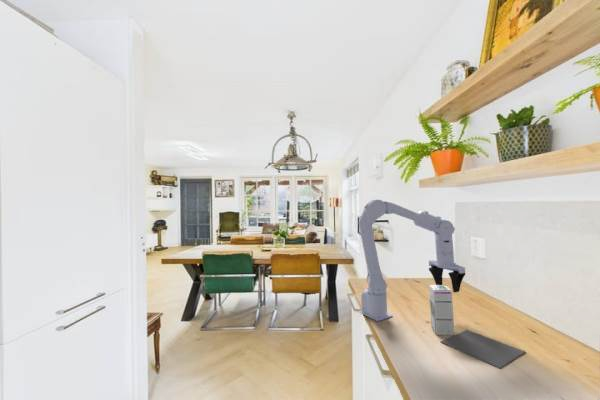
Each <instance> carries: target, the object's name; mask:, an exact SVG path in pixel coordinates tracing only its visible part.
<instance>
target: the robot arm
mask: <svg viewBox="0 0 600 400" xmlns="http://www.w3.org/2000/svg"><path fill="white" fill-rule="evenodd" d="M390 214H394V215H395V216H396V215H397V216H399V217H403V218H405V219H408V220H410V221H413V224H414V225H415V226H416V227H419V228H421V229H425V230H426V231H429V232H433V233H434V237H435V239H434V240H435V253H436V256H435V257H436V260H434V259H433V260H429V261H428V266H429V268H428V271H429V273H430V274H431V275H432V278H433V279H434V283H435V285H443V274H444V270H447V271H451V272H448V276H449V278H450V281H451V286H452V287H451V289H452V293H459V292H460V289H461V285H462V281H463V279H464V278H465V276H466V267H465V266H462V265H459V264H456V263H457V262H455V254H454V243H453V234H454V233H455V230H456V229H455V227H454V225H453V223H452V222H451V221H449V220H446V219H443V218H442V217H441V216H439V215H437V216H436V215H433V214H430V213H429V211H427V210H424V211H422V210H420V211H418V212H415V211H413V210H411V209H408V208H405V207H403V206H401V205H398V204H396V203H393V202H388V201H386V200H385V201H383V200H382V199H372V200H370V201H369V202H368V203H367V204H366V205H365V206H364V208H363V210H362V213H361V215H360V218H359V220H358V226H359V227H358V228H359V231H360V238H361V242H362V248H363V251H364V259H365V263H366V264H365V265H366V269H367V276H366V282H367V285H368V288H366V289H364V290H363V291H362V293H361V297H360V300H361V311H360V312H359V313H360V314H362V315H364V316H366V317H368V318H370V319H372V320H374V321H377V322H379V321H382V320H385V319H388V318H389V319H390V318H391V317H393V314H391V313H389V312H388V298H387V297H388V296H387V293H388V292H387V288H388V284H387V282H386V280H385V279H384V278H383V274H382V270H381V266H380V262H379V257H378V251H377V246H376V241H375V236H374V232H373V225H374V224H375V222H376V221H377V220H378V219H380V218H381V217H382V216H384V215H390Z"/></svg>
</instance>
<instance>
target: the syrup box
mask: <svg viewBox="0 0 600 400" xmlns="http://www.w3.org/2000/svg"><path fill="white" fill-rule="evenodd" d="M453 304H454V302H453V289H452V288H449V286H447V285H443V284H442V285H436V284H430V285H429V305H430V306H429V307H430V321H431V322H430V325H431V328H432V330H433V332H434V333H435V335H437V336H438V335H439V336H449V337H451V336H454V335H455V321H454V319H455V318H454V305H453Z"/></svg>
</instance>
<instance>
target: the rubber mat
mask: <svg viewBox="0 0 600 400" xmlns="http://www.w3.org/2000/svg"><path fill="white" fill-rule="evenodd" d="M440 343H442V344H444V345H446V346H448V347H451V348H453V349H454V350H458V351H460V352H461V353H464V354H465V355H466V354H467V355H468V356H470V357H473V358H476V359H477V360H480V361H482V362H484V363H486V364H489V365H491V366H493V367H496V368H497V369H502V368H504V367H505V366H507V365H508V364H510V363H511V362H513V361H514V360H516V359H517V358H519V357H521V356H522V355H524V354H525V353H527V351H526V350H524V349H523V350H522V349H521V348H518V347H515V346H512V345H509V344H507V343H503V342H501V341H499V340H495V339H493V338H492V337H491V338H490V337H487V336H485V335H483V334H479V333H477V332H475V331H471V330H469V329H465V330H463V331H461V332H458V333H456V334H454V336H449V337H448V338H445V339H443V340H441V341H440Z"/></svg>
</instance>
